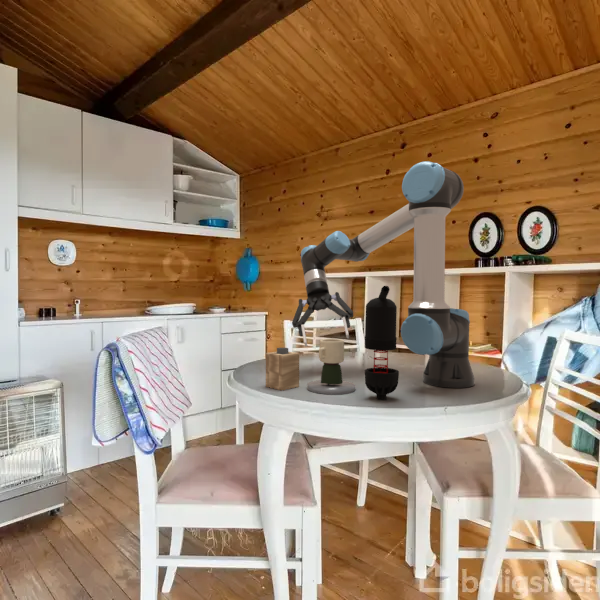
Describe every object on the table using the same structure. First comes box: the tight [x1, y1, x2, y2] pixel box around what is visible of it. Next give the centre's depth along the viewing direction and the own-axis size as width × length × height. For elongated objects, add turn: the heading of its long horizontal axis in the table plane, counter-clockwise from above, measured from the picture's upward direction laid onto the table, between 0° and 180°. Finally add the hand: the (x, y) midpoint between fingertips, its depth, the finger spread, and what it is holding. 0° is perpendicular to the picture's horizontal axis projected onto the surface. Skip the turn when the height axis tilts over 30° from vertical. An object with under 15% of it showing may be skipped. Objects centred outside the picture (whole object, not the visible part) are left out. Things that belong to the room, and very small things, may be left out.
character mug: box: [318, 338, 345, 385], centre depth 129 cm, size 11×7×13 cm, turn 136°
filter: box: [364, 285, 400, 401], centre depth 118 cm, size 14×9×30 cm
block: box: [265, 351, 300, 391], centre depth 131 cm, size 7×7×10 cm
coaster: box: [306, 379, 356, 396], centre depth 129 cm, size 14×14×1 cm
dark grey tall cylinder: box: [276, 347, 289, 354], centre depth 131 cm, size 3×3×10 cm
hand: (326, 340), depth 141 cm, fingers open, 13 cm apart
